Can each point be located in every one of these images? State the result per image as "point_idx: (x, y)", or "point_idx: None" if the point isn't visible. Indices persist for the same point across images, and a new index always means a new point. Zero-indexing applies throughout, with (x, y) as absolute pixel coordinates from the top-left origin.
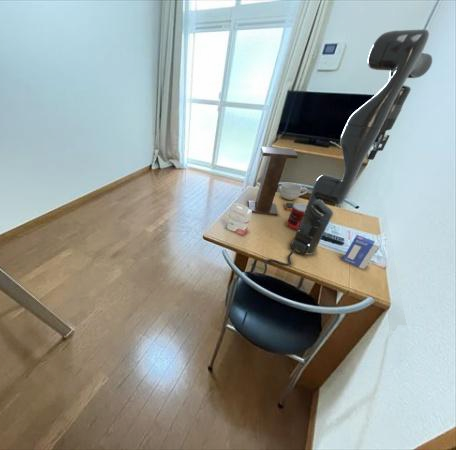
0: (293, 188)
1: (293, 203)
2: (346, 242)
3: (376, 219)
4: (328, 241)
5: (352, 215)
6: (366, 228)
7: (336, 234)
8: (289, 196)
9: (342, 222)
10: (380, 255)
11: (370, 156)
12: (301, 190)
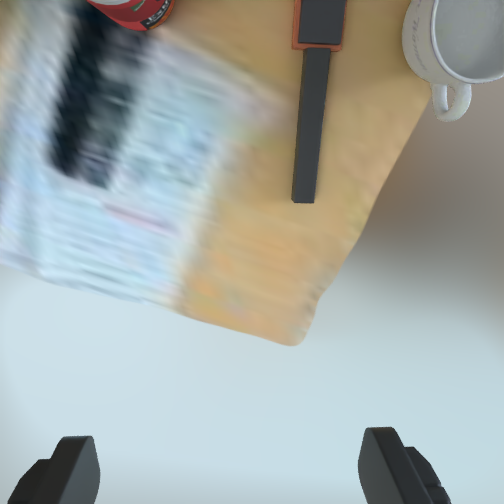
0: (499, 56)
1: (341, 24)
2: (79, 190)
3: (282, 344)
4: (56, 119)
5: (296, 281)
6: (209, 293)
7: (126, 171)
8: (409, 9)
9: (232, 227)
10: (41, 271)
11: (21, 491)
12: (451, 85)
